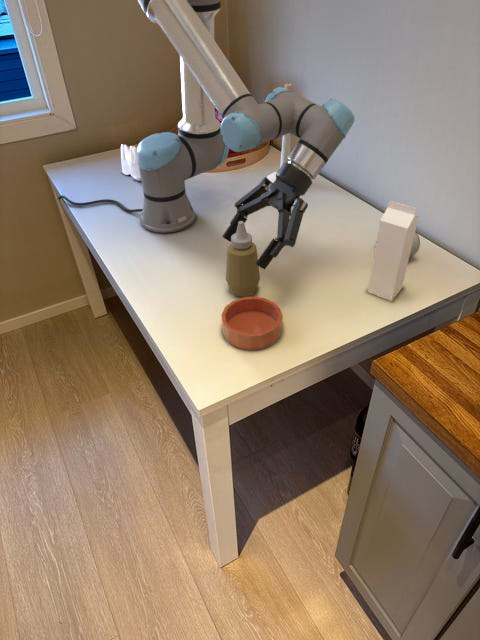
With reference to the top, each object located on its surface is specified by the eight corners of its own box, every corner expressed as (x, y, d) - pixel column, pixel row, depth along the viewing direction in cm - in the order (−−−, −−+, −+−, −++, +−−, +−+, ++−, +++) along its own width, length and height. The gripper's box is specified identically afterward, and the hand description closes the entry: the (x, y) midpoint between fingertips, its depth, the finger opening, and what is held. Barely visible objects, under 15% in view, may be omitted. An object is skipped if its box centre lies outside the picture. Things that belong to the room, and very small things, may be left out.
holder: (210, 333, 103) (209, 319, 101) (246, 303, 111) (246, 289, 108) (258, 358, 97) (258, 344, 95) (292, 324, 105) (293, 310, 102)
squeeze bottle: (257, 302, 111) (256, 233, 99) (222, 298, 112) (218, 230, 101) (262, 281, 117) (263, 214, 105) (230, 278, 118) (226, 211, 107)
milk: (378, 280, 116) (394, 194, 102) (402, 288, 113) (422, 202, 99) (366, 292, 112) (382, 206, 98) (391, 301, 110) (411, 214, 95)
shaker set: (149, 180, 161) (144, 147, 154) (138, 184, 159) (133, 151, 152) (132, 169, 169) (126, 137, 161) (121, 173, 167) (115, 140, 159)
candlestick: (278, 170, 165) (281, 74, 145) (312, 179, 159) (319, 80, 139) (257, 184, 157) (257, 85, 137) (291, 194, 151) (296, 91, 131)
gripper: (347, 200, 99) (285, 285, 102) (275, 161, 115) (224, 235, 119) (329, 183, 93) (265, 273, 97) (256, 144, 109) (203, 222, 113)
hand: (242, 252), depth 108 cm, fingers open, 13 cm apart
